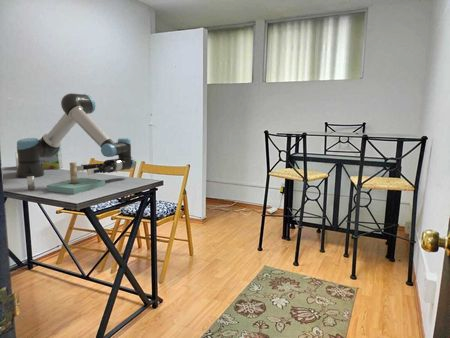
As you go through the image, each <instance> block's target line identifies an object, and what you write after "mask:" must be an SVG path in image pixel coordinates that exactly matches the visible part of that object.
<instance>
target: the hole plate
mask: <svg viewBox="0 0 450 338" xmlns="http://www.w3.org/2000/svg"><path fill="white" fill-rule="evenodd" d="M77 182H78V184H75V185H73V184H71V179H69V180H64V181H59V182H55V183H54V182H53V183H50V184H47V185H46V189H47V191H48V192H54V193H61V194H69V195H76V194H80V192H81V193H83V192H87V190H88V191H90V190H94V189H97V188H101V187H105V186H106V180H105V179H103V180H102V179H96V178H87V177H77Z"/></svg>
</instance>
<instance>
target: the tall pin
mask: <svg viewBox="0 0 450 338" xmlns="http://www.w3.org/2000/svg"><path fill="white" fill-rule="evenodd" d="M77 166H78V165H77V162H70V163H69V172H70V173H69V174H70V180H71V184H73V185H75V184H78V182H77V178H78V171H77Z"/></svg>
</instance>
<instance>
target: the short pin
mask: <svg viewBox="0 0 450 338" xmlns="http://www.w3.org/2000/svg"><path fill="white" fill-rule="evenodd" d="M26 181H27V183H26V184H27V190H28V191H35V190H36V186H35V185H36V184H35V177H34V176H27V178H26Z"/></svg>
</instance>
